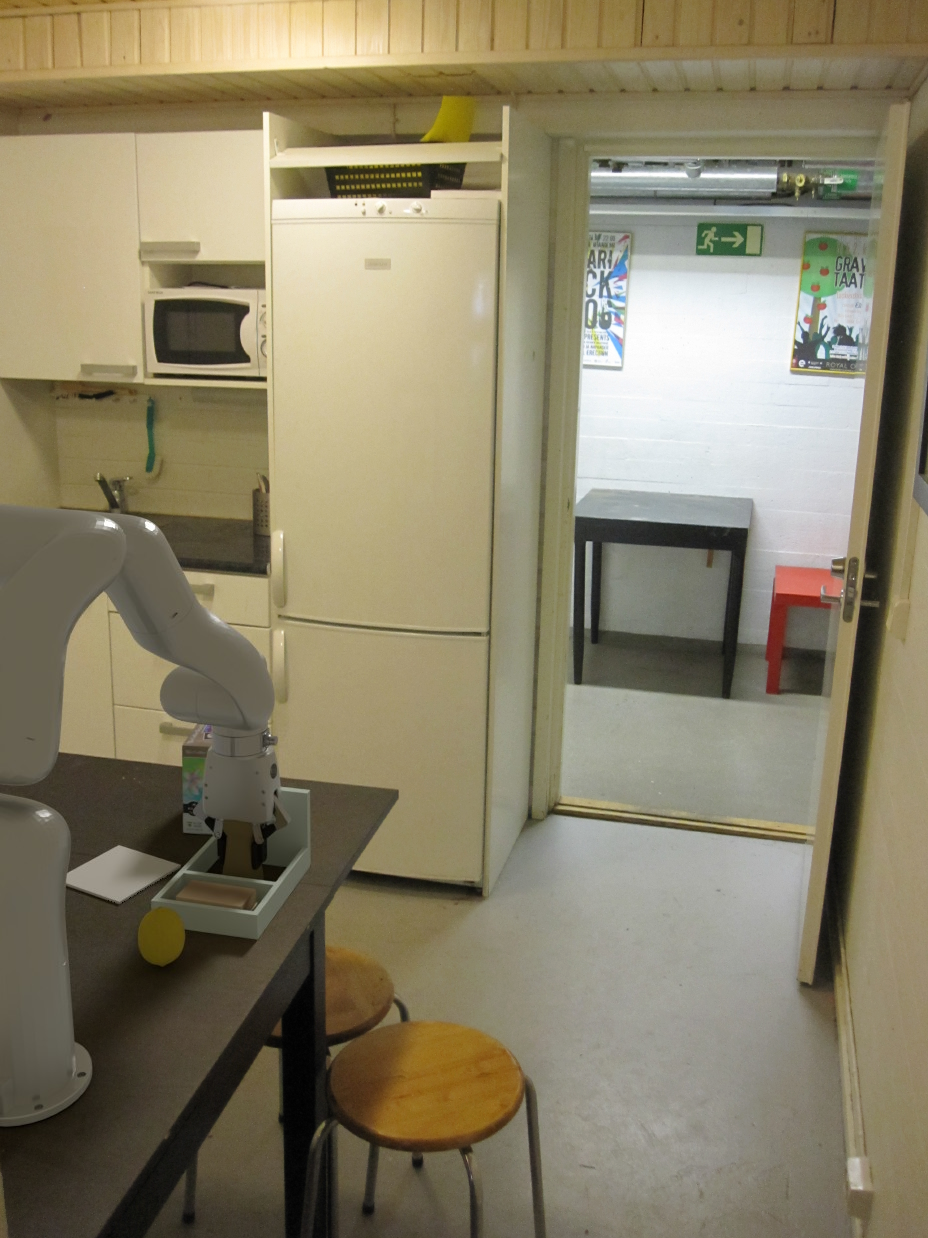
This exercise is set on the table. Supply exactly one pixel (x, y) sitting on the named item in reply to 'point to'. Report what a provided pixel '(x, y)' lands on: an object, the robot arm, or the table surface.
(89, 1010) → the table surface
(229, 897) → the offcut upper
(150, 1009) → the table surface
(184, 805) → the tea box
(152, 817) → the table surface
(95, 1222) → the table surface
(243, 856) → the cork
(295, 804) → the rack
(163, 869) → the mat
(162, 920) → the lemon
